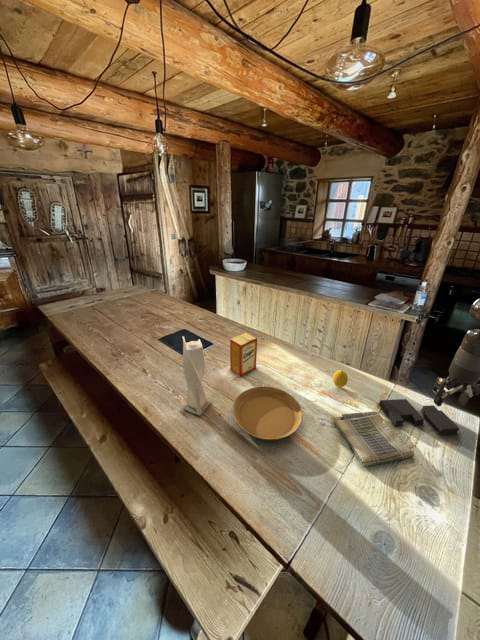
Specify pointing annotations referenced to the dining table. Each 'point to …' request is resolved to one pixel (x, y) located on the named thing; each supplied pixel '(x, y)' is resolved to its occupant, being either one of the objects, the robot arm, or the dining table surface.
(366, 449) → the dish towel
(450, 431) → the pad
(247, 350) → the baking soda box
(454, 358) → the robot arm
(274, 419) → the plant saucer
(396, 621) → the dining table surface
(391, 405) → the notch pad
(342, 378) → the lemon
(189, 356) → the skyscraper
